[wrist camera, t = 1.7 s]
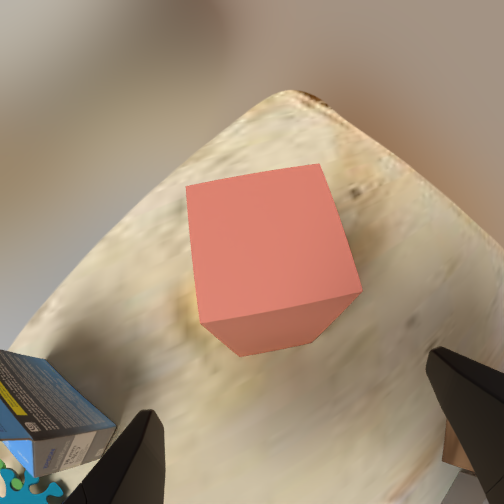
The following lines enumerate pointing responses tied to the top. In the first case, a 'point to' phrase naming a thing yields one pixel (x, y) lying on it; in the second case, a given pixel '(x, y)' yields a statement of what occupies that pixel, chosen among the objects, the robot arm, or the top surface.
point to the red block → (269, 258)
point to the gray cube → (465, 491)
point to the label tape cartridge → (47, 417)
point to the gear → (24, 488)
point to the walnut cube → (454, 450)
